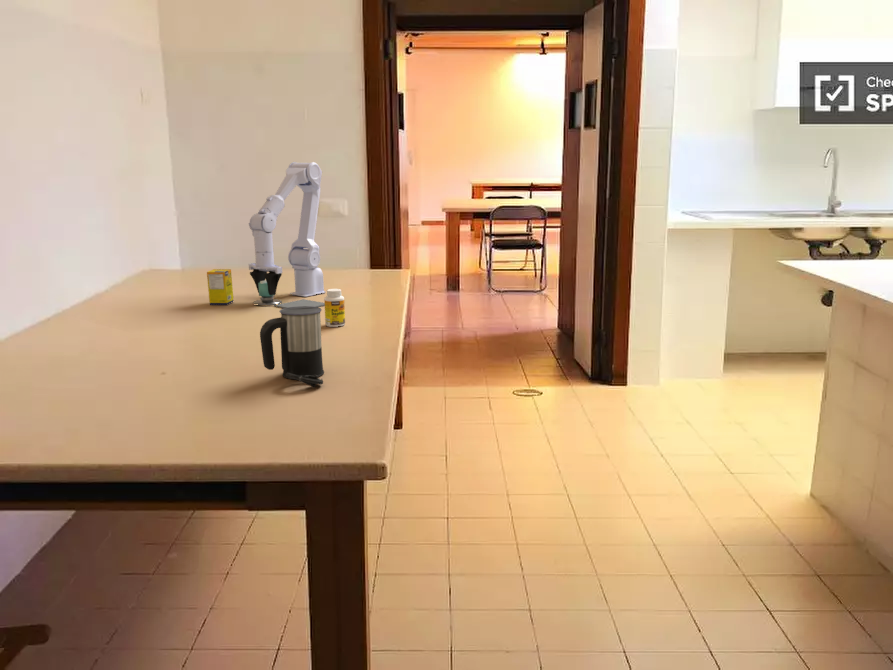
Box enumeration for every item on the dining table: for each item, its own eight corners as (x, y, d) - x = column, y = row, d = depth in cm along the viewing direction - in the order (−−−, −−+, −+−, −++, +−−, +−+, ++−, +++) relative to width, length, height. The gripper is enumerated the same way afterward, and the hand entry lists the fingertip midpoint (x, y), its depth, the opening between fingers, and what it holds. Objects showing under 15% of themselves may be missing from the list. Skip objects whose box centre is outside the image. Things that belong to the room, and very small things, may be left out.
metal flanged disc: (269, 299, 263) (269, 291, 263) (287, 302, 258) (287, 294, 257) (247, 304, 257) (246, 295, 256) (265, 307, 251) (264, 298, 250)
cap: (268, 292, 260) (267, 278, 259) (278, 294, 257) (277, 280, 256) (255, 295, 256) (254, 280, 255) (265, 297, 253) (264, 282, 252)
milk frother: (306, 366, 184) (302, 303, 181) (354, 378, 174) (351, 312, 171) (256, 380, 174) (251, 314, 170) (304, 394, 164) (300, 324, 160)
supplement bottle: (330, 328, 221) (329, 292, 219) (322, 325, 226) (320, 289, 224) (348, 325, 224) (347, 290, 222) (340, 322, 229) (338, 287, 227)
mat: (303, 300, 261) (303, 299, 261) (328, 305, 254) (328, 303, 253) (274, 306, 252) (274, 305, 252) (299, 311, 245) (299, 309, 244)
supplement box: (234, 301, 261) (231, 268, 258) (227, 305, 255) (224, 271, 252) (216, 301, 261) (213, 268, 259) (209, 305, 255) (206, 271, 253)
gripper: (239, 251, 255) (242, 293, 258) (268, 254, 246) (271, 298, 249) (257, 248, 260) (260, 289, 263) (286, 252, 251) (289, 294, 254)
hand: (266, 293), depth 256 cm, fingers closed on cap, 5 cm apart
